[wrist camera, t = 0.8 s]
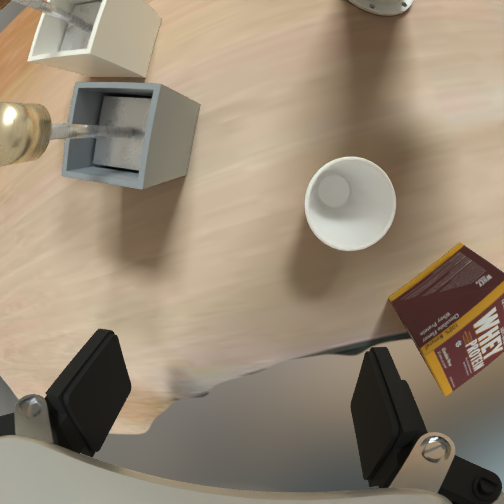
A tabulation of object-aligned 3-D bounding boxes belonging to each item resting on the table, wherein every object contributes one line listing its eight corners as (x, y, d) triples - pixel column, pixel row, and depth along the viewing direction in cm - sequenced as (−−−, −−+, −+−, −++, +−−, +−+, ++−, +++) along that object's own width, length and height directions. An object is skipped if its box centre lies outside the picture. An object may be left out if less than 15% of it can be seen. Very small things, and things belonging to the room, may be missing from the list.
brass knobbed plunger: (106, 96, 29) (-25, 77, 11) (168, 100, 29) (50, 62, 11) (95, 163, 32) (-36, 192, 14) (155, 172, 32) (32, 208, 14)
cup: (304, 231, 43) (312, 259, 32) (290, 160, 40) (296, 164, 29) (372, 219, 41) (399, 243, 31) (362, 149, 38) (390, 151, 28)
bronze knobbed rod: (77, 7, 25) (-23, -38, 7) (126, -1, 25) (30, -70, 7) (60, 59, 28) (-55, 36, 9) (109, 55, 28) (-11, 12, 9)
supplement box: (386, 297, 45) (423, 357, 30) (459, 241, 41) (517, 280, 26) (410, 338, 47) (444, 398, 32) (477, 286, 43) (526, 332, 28)
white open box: (106, 21, 34) (51, -10, 19) (162, 17, 34) (117, -25, 19) (90, 77, 37) (27, 61, 23) (145, 77, 37) (89, 53, 23)
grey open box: (135, 98, 38) (75, 82, 24) (200, 104, 38) (161, 83, 24) (123, 164, 41) (61, 176, 27) (186, 174, 41) (142, 189, 27)
